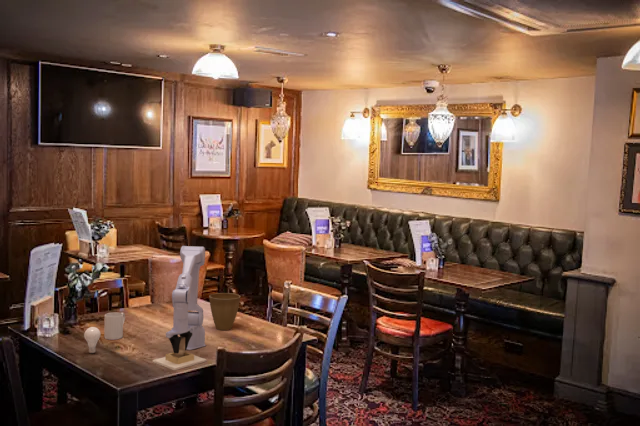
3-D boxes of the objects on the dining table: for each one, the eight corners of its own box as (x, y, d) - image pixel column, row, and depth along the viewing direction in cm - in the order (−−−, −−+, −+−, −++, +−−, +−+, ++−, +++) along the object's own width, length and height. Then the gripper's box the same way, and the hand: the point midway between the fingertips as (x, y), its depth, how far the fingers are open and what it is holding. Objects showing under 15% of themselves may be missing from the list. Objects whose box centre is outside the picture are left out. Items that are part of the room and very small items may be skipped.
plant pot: (242, 331, 310) (243, 298, 309) (212, 333, 305) (212, 299, 304) (235, 323, 324) (236, 291, 323) (205, 325, 319) (206, 293, 317)
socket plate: (184, 353, 273) (184, 346, 272) (206, 361, 264) (206, 354, 263) (152, 362, 260) (152, 354, 260) (174, 370, 251) (174, 362, 251)
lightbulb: (81, 352, 268) (81, 326, 267) (96, 350, 273) (96, 324, 272) (88, 356, 264) (88, 330, 263) (103, 353, 268) (103, 327, 267)
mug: (116, 340, 287) (116, 317, 286) (100, 338, 289) (101, 315, 288) (131, 333, 299) (131, 311, 298) (116, 331, 301) (116, 309, 300)
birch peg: (179, 355, 265) (179, 336, 264) (186, 357, 263) (187, 337, 262) (172, 357, 261) (172, 338, 260) (180, 359, 259) (180, 339, 258)
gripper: (185, 313, 269) (184, 345, 270) (160, 320, 256) (159, 353, 257) (198, 316, 265) (197, 348, 266) (173, 323, 253) (172, 357, 254)
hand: (179, 351), depth 262 cm, fingers closed on birch peg, 4 cm apart
